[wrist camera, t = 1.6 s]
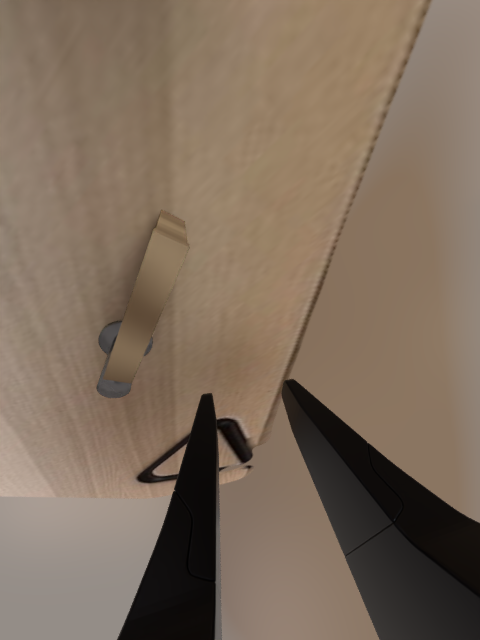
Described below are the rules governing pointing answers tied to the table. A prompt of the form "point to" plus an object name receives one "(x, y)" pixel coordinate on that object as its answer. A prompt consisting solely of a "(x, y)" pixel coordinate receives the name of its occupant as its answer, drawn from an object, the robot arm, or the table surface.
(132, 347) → the tan wooden flat block
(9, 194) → the table surface
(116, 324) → the hinge post
